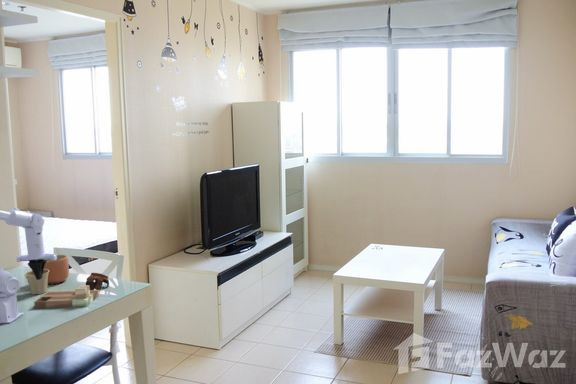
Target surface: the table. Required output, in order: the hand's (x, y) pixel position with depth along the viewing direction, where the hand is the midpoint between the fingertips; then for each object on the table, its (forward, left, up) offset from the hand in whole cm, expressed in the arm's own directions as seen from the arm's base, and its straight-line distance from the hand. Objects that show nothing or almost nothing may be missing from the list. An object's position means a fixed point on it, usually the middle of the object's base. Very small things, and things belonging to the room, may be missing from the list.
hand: (39, 278), depth 203 cm
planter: (+32, +9, -11) cm, 35 cm away
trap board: (+3, -9, -10) cm, 14 cm away
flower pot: (+17, +9, -11) cm, 22 cm away
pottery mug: (+17, -15, -11) cm, 25 cm away
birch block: (0, -16, -8) cm, 18 cm away
